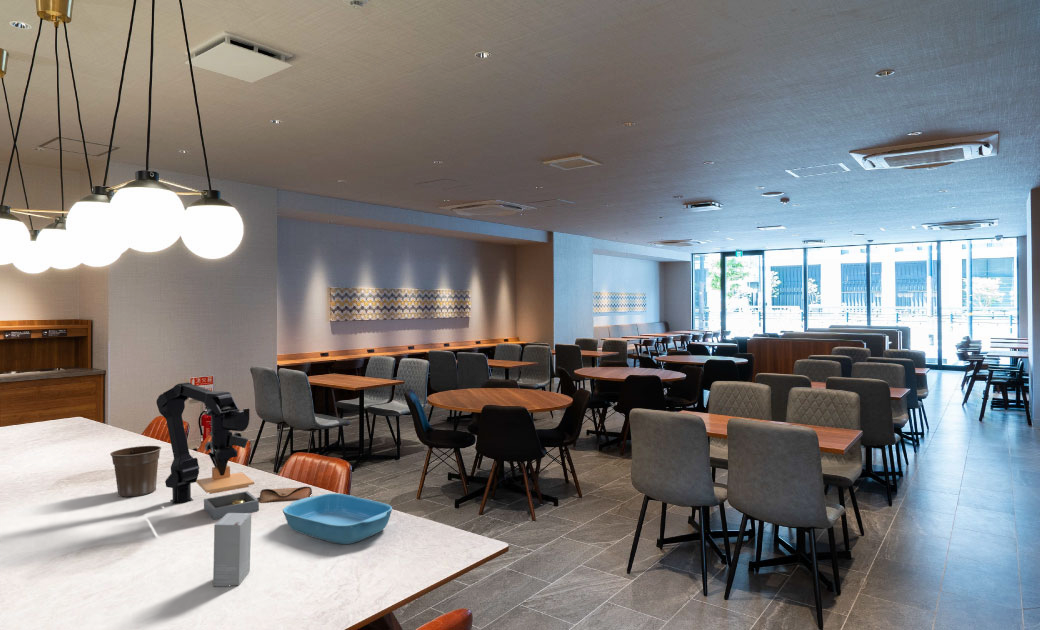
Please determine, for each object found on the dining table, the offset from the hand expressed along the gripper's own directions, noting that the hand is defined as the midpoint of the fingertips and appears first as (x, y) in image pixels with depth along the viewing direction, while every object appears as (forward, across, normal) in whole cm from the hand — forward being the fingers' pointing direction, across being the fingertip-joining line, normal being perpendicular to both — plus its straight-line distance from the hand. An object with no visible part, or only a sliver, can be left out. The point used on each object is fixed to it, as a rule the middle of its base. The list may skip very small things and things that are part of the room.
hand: (221, 474), depth 208 cm
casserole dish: (+12, -45, -23) cm, 52 cm away
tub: (+12, -6, -2) cm, 13 cm away
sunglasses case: (+12, -4, -20) cm, 24 cm away
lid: (+2, -5, 0) cm, 6 cm away
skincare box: (+12, -62, +12) cm, 65 cm away
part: (+11, -2, -5) cm, 13 cm away
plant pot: (+12, +42, +20) cm, 48 cm away
